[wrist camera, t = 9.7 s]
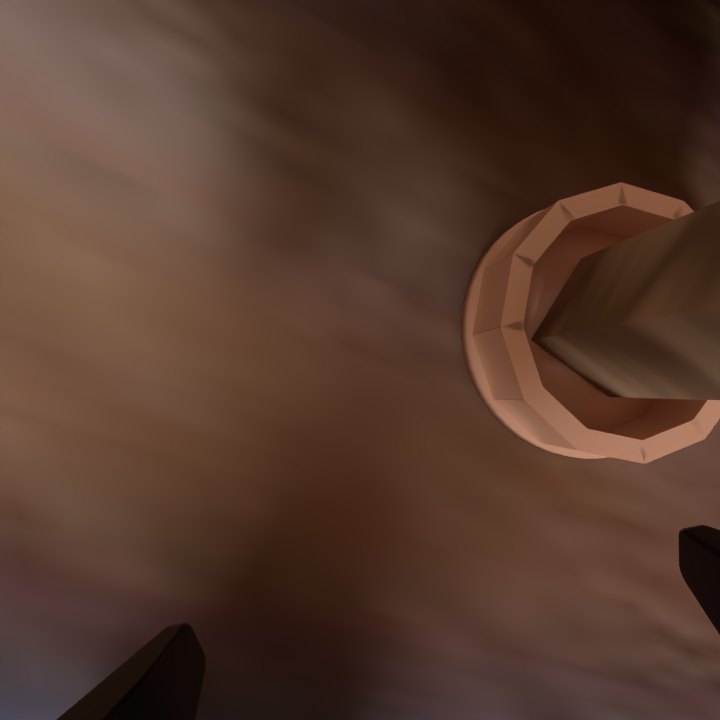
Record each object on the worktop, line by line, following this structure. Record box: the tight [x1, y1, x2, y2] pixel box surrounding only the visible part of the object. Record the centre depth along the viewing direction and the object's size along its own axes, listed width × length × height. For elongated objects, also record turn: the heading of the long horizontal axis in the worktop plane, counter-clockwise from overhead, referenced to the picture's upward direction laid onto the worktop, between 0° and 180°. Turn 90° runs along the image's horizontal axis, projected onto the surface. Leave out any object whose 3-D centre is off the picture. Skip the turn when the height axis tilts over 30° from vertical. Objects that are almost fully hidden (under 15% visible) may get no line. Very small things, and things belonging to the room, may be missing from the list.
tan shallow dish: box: [461, 182, 720, 464], centre depth 20 cm, size 10×10×3 cm
